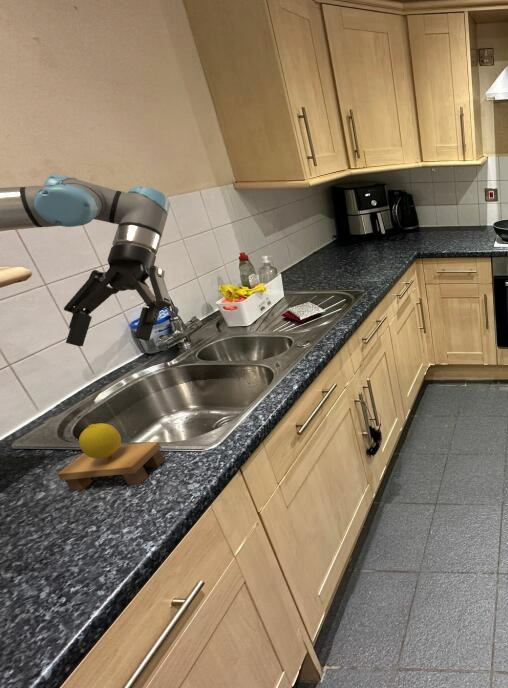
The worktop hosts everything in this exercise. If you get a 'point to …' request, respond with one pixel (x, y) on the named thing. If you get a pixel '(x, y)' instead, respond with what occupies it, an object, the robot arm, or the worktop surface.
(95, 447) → the lemon
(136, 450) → the serving board
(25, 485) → the worktop surface
